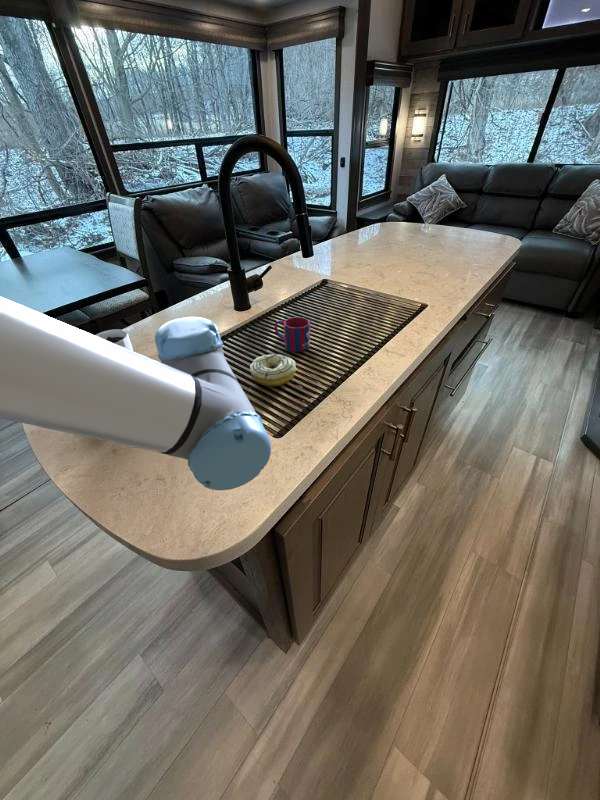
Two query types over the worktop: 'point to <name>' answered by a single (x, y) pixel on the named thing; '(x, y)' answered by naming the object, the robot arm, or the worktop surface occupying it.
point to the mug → (295, 333)
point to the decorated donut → (273, 369)
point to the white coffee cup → (117, 338)
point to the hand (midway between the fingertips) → (126, 348)
